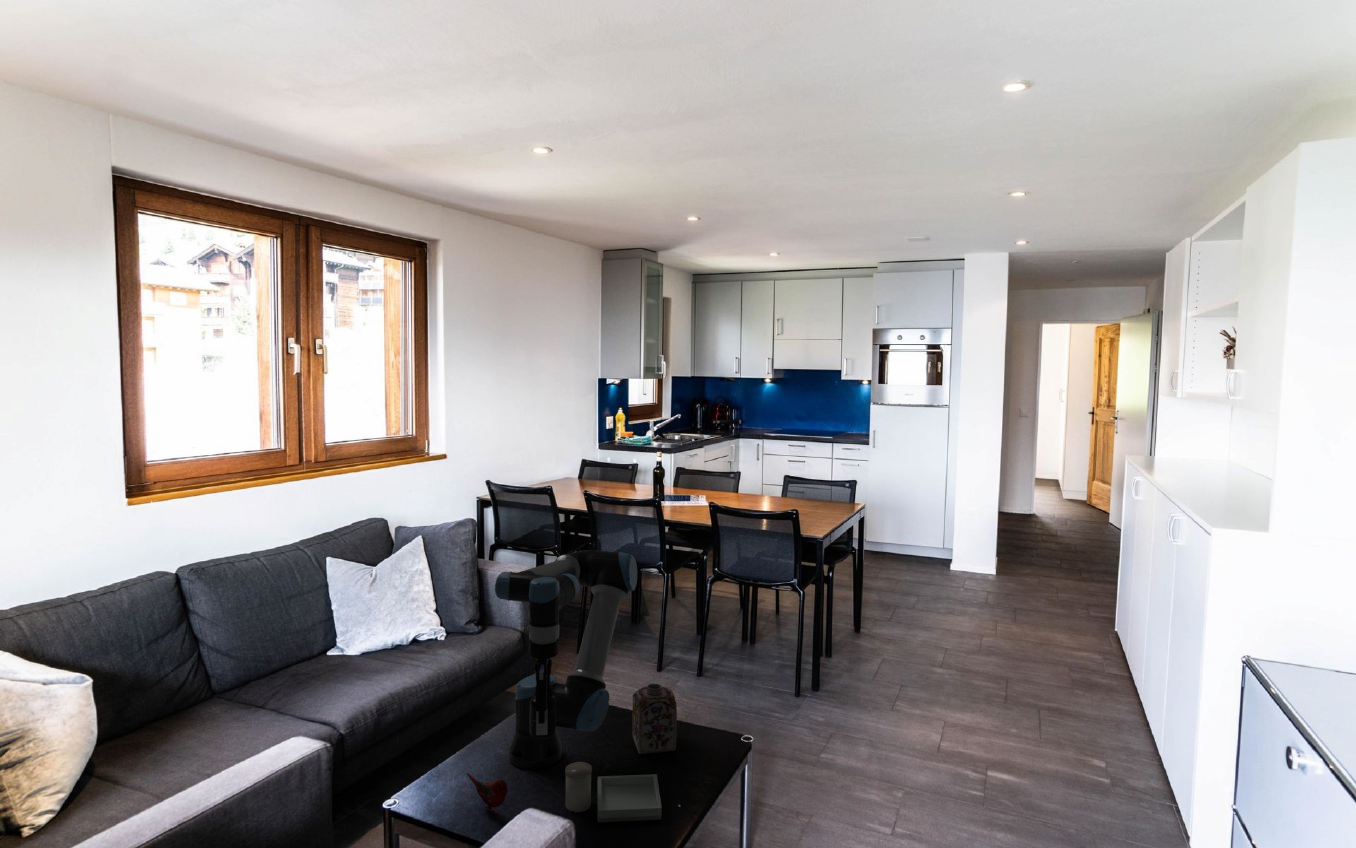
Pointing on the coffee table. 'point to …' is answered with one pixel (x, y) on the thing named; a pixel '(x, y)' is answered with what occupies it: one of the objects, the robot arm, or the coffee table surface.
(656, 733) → the decorative jar
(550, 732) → the supplement bottle
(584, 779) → the cream canister
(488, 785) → the decorative bird figurine
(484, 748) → the coffee table surface
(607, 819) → the sage tray
